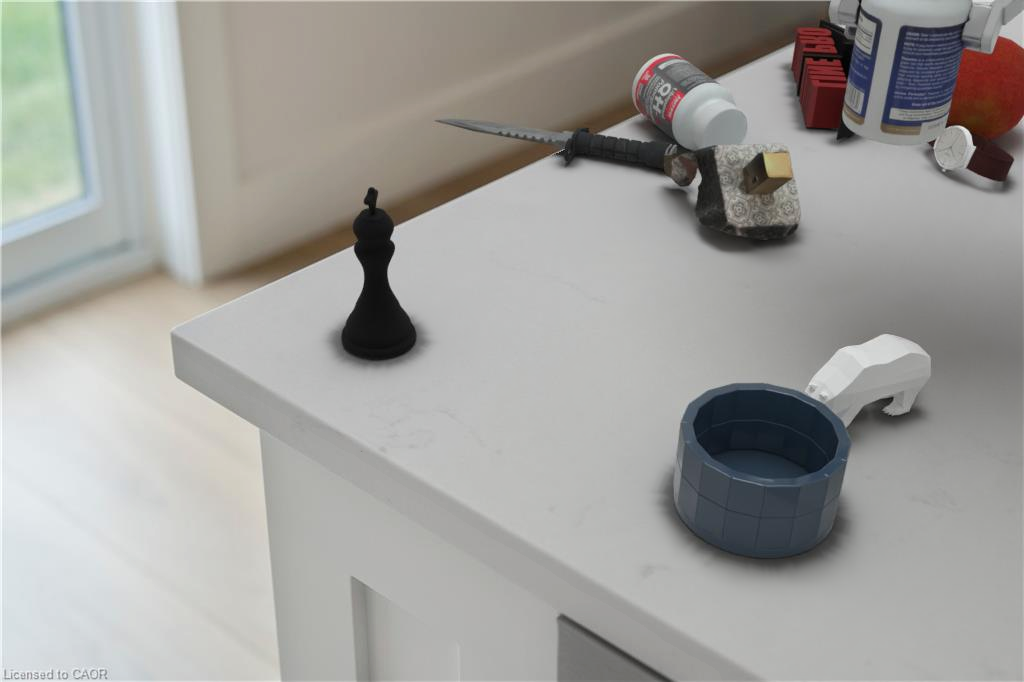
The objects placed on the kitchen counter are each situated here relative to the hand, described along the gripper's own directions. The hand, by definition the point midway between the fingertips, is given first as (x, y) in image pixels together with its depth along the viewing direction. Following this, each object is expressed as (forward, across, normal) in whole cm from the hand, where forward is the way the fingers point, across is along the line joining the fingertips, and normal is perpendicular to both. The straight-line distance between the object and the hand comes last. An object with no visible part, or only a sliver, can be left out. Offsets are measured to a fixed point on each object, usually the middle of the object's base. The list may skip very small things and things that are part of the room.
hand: (908, 33), depth 63 cm
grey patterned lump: (+5, -12, +22) cm, 26 cm away
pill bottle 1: (-6, -24, +29) cm, 38 cm away
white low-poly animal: (+18, +2, +9) cm, 21 cm away
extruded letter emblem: (-12, -15, +37) cm, 42 cm away
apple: (-10, 0, +34) cm, 36 cm away
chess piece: (+23, -24, +4) cm, 34 cm away
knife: (+1, -28, +26) cm, 38 cm away
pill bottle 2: (+4, 0, +4) cm, 6 cm away
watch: (-9, +1, +32) cm, 33 cm away
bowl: (+25, 0, +3) cm, 25 cm away
